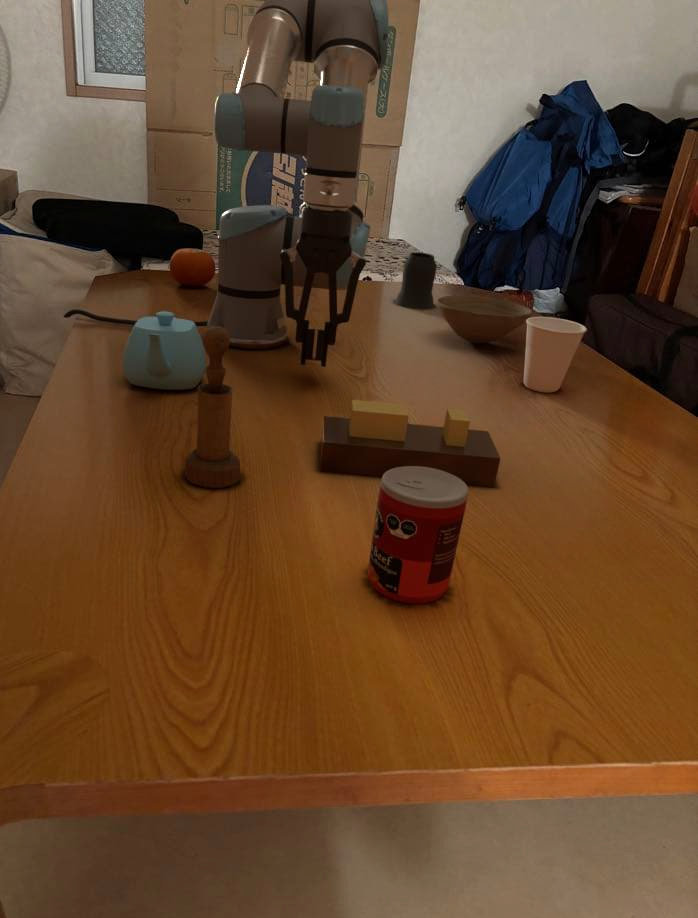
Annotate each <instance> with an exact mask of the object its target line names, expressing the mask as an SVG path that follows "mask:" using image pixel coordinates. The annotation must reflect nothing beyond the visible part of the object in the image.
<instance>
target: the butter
mask: <svg viewBox="0 0 698 918" xmlns="http://www.w3.org/2000/svg"><path fill="white" fill-rule="evenodd" d="M409 415H410V414H409V411H408V407H407V404H406V403H405V404H403V403H392V402H382V401H372V400H371V401H370V400H360V399H352V400H351V405H350V414H349V418H350V421H349V436H350V437H361V438H372V439H382V440H393V441H405V436H406V430H407V424H409V417H410V416H409Z"/></svg>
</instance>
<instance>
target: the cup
mask: <svg viewBox="0 0 698 918" xmlns="http://www.w3.org/2000/svg"><path fill="white" fill-rule="evenodd" d="M525 323H526V334H525V335H526V336H525V353H524V355H525V356H524V369H523V380H522V381H523V382H522V383H523V384H524V386H525V387H526V388H527V389H529V390H531V391H535V392H538V393H539V392H540V393H555V392H557V391H559V390H560V388H561V386H562V383H563V381H564V379H565V376H566V374H567V372H568V369H569V368H570V366H571V363H572V361H573V358H574V357H575V355H576V352H577V350H578V348H579V346H580V344H581V341H582V339H583V337H584V334H585V333H586V332H587V331H588V329H587V327H586V326H585V325H583V324H581V323H579V322H576V321H572V320H569V319H564V318H558V317H553V316H530V317H529V318H528V319H527V320H526V321H525Z"/></svg>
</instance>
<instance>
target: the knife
mask: <svg viewBox="0 0 698 918" xmlns="http://www.w3.org/2000/svg"><path fill="white" fill-rule="evenodd" d="M324 334H325V330H324V329H315V328H308V335H307V346H306V356H305V359H306V361H312V362H321V361H322V354H323V344H324Z"/></svg>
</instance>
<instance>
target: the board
mask: <svg viewBox="0 0 698 918" xmlns="http://www.w3.org/2000/svg"><path fill="white" fill-rule="evenodd" d="M349 421H350V417H349V418H348V417H339V416H329V415H324V416H323V422H322V431H321V432H322V433H321V440H320V462H319V465H320V466H319V472H324V473H325V472H326V473H335V474H336V473H337V474H345V475H346V474H347V475H357V476H358V475H359V476H368V477H369V476H370V477H379V478H382V477H383V475H384V473H385V472H387V471H388V470H390V469H393V468H397V467H404V466H421V467H429V468H434V469H438V470H442V471H444V472H447V473H450V474H452V475H454V476H456V477H458V478H459V479H461V480H462V481H463V482H464V483H465V484H466V485H467V486H478V487H479V486H480V487H489V488H494V487H495V485H496V484H495V483H496V480H497V476H498V471H499V467H500V462H501V456H500V453H499V451H498V449H497V447H496V445H495V443H494V440H493V439H492V437H491V434H490V432H489V431H488V430H480V429H470V428H469V429H468V434H467V439H466V444H465V447H459V446H449V445H446V443H445V440H444V437H443V428H444V426H437V425H436V426H435V425H425V424H414V423H408V424H407V430H406V436H405V441H393V440H382V439H372V438H361V437H350V436H349Z"/></svg>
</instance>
